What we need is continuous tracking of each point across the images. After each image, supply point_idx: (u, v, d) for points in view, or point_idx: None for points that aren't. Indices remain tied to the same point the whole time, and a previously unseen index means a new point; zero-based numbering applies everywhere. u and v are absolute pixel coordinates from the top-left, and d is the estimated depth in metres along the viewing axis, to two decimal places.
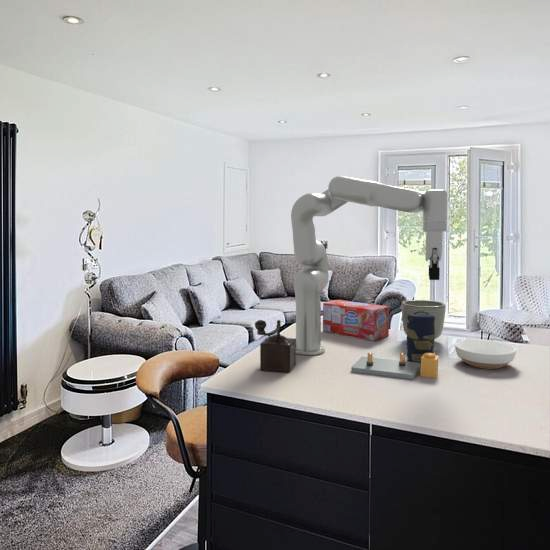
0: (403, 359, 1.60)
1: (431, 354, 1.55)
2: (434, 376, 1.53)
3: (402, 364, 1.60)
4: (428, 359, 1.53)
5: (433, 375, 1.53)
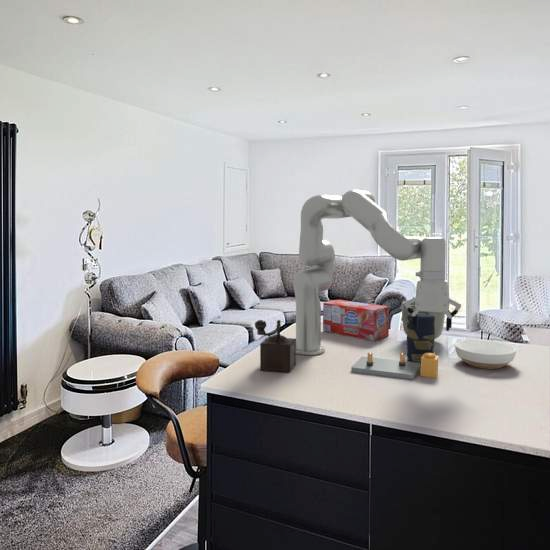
0: (403, 359, 1.60)
1: (431, 354, 1.55)
2: (434, 376, 1.53)
3: (402, 364, 1.60)
4: (428, 359, 1.53)
5: (433, 375, 1.53)
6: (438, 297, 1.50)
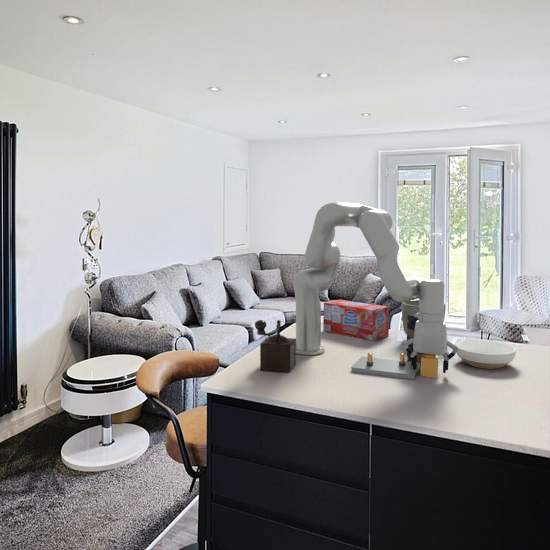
0: (403, 359, 1.60)
1: (431, 354, 1.55)
2: (434, 376, 1.53)
3: (402, 364, 1.60)
4: (428, 359, 1.53)
5: (433, 375, 1.53)
6: (436, 339, 1.51)
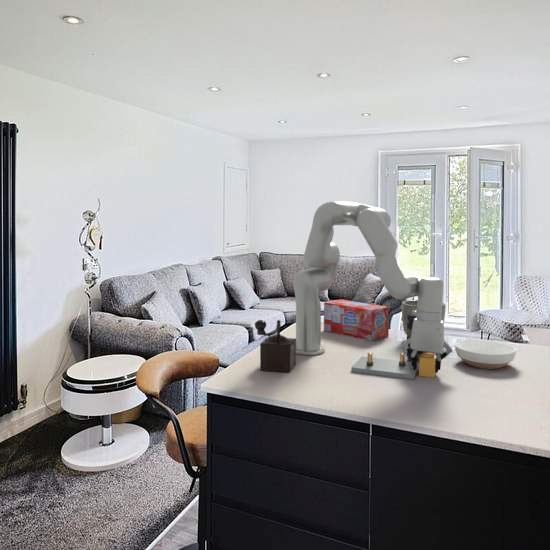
0: (403, 359, 1.60)
1: (430, 354, 1.55)
2: (432, 376, 1.53)
3: (402, 364, 1.60)
4: (426, 359, 1.53)
5: (431, 375, 1.53)
6: (433, 338, 1.51)
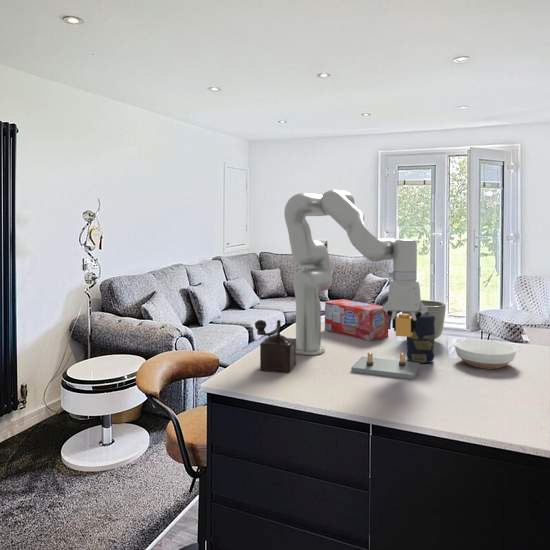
0: (403, 359, 1.60)
1: (405, 314, 1.59)
2: (409, 335, 1.57)
3: (402, 364, 1.60)
4: (402, 319, 1.57)
5: (408, 334, 1.57)
6: (409, 297, 1.55)
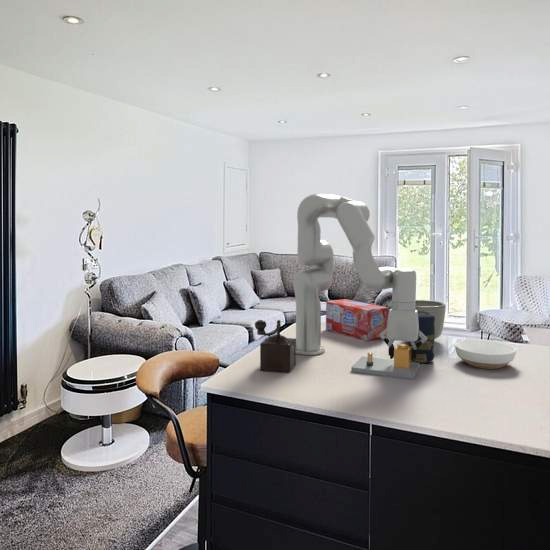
0: None
1: (404, 345, 1.60)
2: (406, 366, 1.58)
3: None
4: (400, 350, 1.59)
5: (406, 365, 1.59)
6: (408, 327, 1.56)
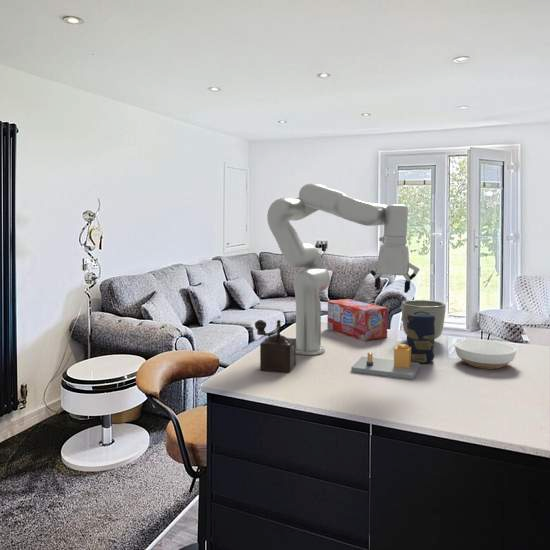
0: None
1: (404, 345, 1.60)
2: (406, 366, 1.58)
3: None
4: (400, 350, 1.59)
5: (406, 365, 1.59)
6: (398, 260, 1.60)
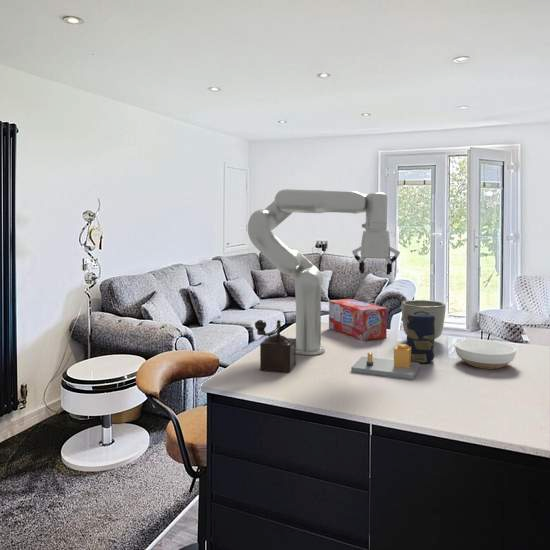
0: None
1: (404, 345, 1.60)
2: (406, 366, 1.58)
3: None
4: (400, 350, 1.59)
5: (406, 365, 1.59)
6: (380, 245, 1.72)
